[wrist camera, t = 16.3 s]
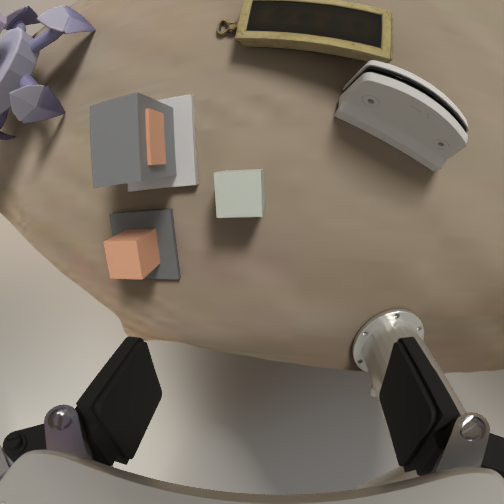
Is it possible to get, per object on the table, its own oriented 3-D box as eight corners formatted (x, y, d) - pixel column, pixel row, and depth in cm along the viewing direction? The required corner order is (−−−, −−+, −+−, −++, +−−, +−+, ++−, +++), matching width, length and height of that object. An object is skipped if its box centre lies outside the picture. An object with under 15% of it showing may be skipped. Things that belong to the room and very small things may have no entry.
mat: (180, 277, 40) (178, 279, 40) (122, 276, 41) (120, 278, 41) (172, 208, 37) (170, 209, 37) (112, 213, 38) (109, 214, 38)
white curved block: (331, 115, 32) (359, 72, 22) (340, 89, 32) (367, 45, 22) (435, 173, 32) (482, 153, 22) (439, 146, 32) (482, 122, 22)
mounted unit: (198, 184, 36) (166, 194, 25) (132, 190, 37) (85, 203, 26) (194, 96, 32) (160, 73, 22) (127, 109, 33) (79, 97, 23)
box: (387, 73, 28) (395, 59, 23) (221, 56, 32) (207, 42, 28) (387, 25, 25) (393, 8, 21) (229, 12, 30) (217, -4, 25)
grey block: (265, 207, 36) (262, 216, 31) (226, 208, 37) (216, 217, 31) (263, 169, 35) (260, 170, 29) (224, 170, 35) (214, 172, 30)
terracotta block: (160, 262, 39) (142, 279, 33) (130, 262, 40) (110, 278, 34) (155, 228, 38) (136, 240, 32) (125, 230, 38) (103, 241, 32)
